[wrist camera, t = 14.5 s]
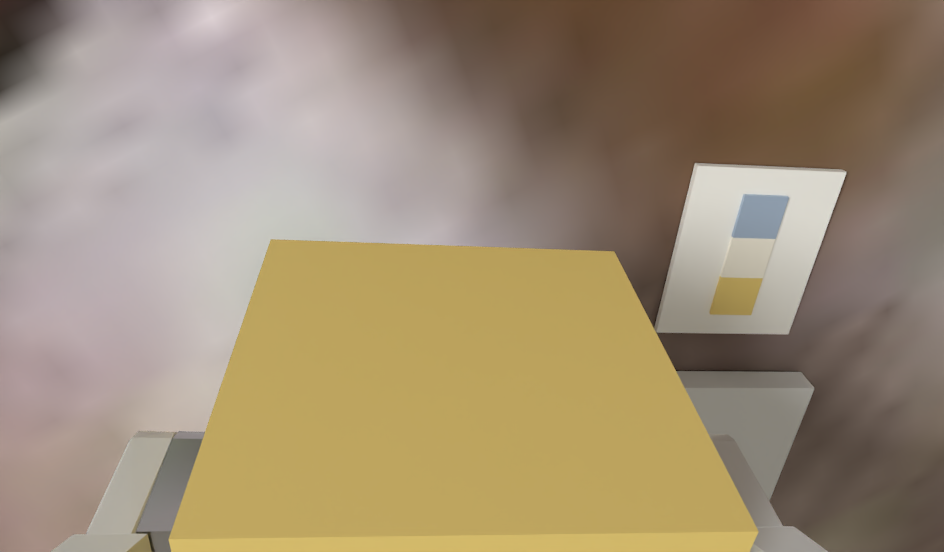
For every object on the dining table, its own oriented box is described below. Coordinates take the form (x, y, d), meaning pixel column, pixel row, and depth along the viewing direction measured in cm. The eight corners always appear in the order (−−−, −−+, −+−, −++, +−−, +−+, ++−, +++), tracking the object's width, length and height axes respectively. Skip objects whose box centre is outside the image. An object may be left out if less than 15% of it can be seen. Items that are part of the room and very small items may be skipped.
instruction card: (694, 163, 17) (699, 167, 17) (842, 169, 18) (848, 174, 18) (654, 328, 20) (657, 334, 20) (784, 330, 20) (790, 336, 20)
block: (270, 239, 10) (168, 539, 6) (613, 251, 10) (758, 532, 6) (289, 484, 12) (228, 816, 8) (562, 484, 13) (639, 794, 9)
